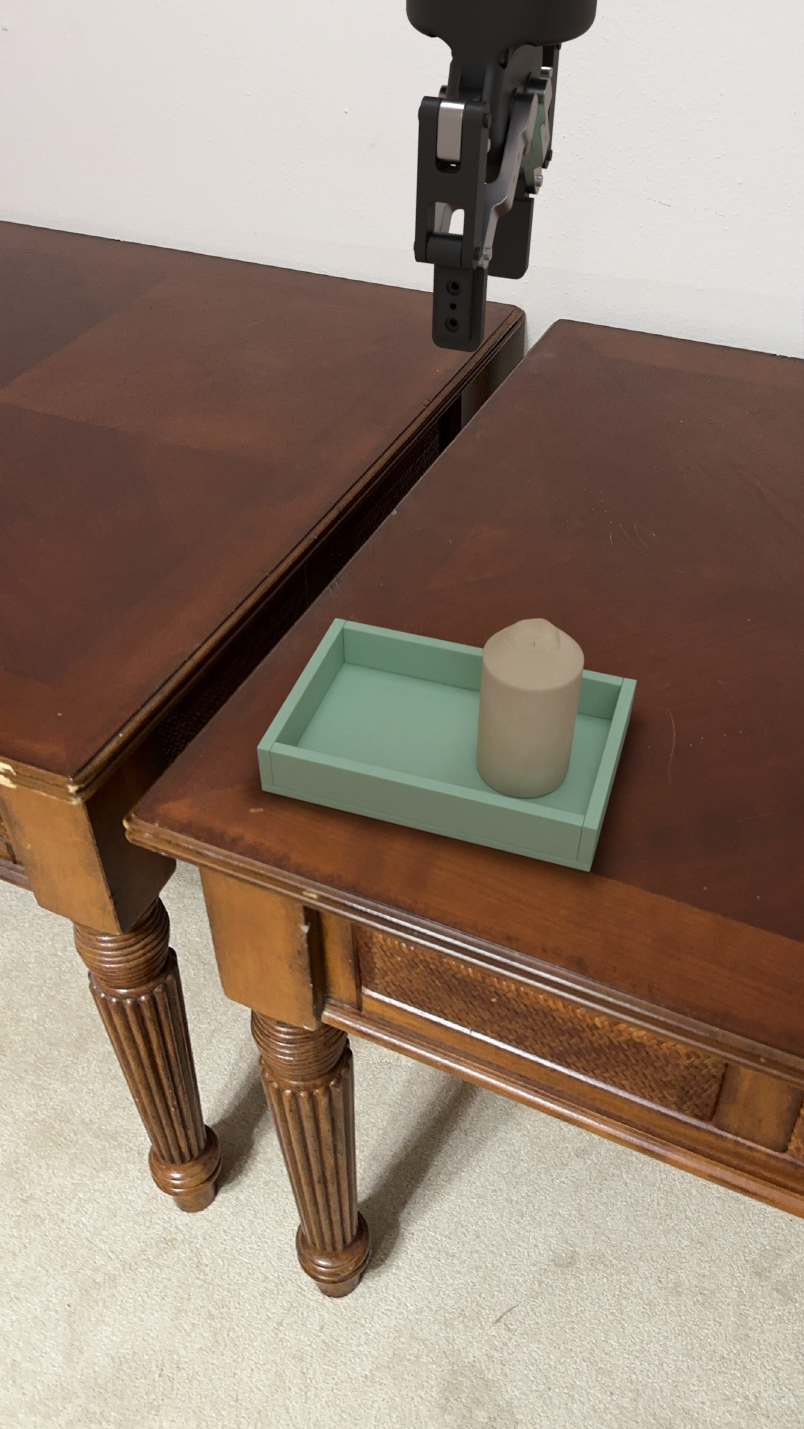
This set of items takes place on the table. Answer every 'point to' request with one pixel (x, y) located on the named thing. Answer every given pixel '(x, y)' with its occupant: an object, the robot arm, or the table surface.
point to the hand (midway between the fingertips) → (482, 308)
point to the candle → (528, 708)
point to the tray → (434, 745)
